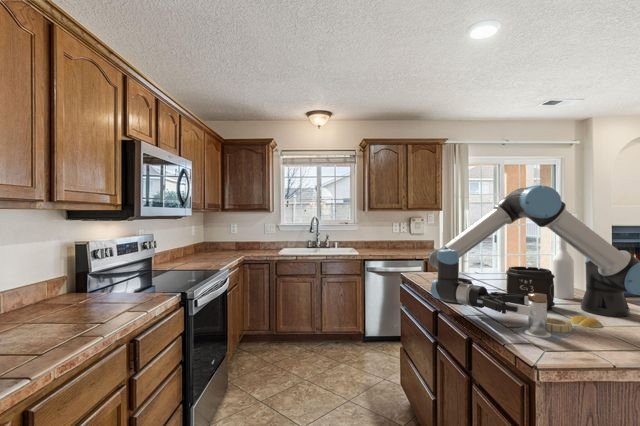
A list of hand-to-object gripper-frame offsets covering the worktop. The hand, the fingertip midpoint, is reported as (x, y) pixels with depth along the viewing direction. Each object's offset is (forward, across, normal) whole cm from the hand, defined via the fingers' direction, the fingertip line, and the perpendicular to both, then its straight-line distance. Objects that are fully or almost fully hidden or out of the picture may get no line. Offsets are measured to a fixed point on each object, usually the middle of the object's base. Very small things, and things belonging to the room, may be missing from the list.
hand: (538, 307), depth 109 cm
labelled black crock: (-18, -42, -10) cm, 46 cm away
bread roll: (+6, -24, -10) cm, 27 cm away
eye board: (0, -6, -10) cm, 12 cm away
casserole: (-46, -31, -10) cm, 57 cm away
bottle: (-14, -70, -10) cm, 72 cm away
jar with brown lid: (0, 0, -8) cm, 8 cm away
